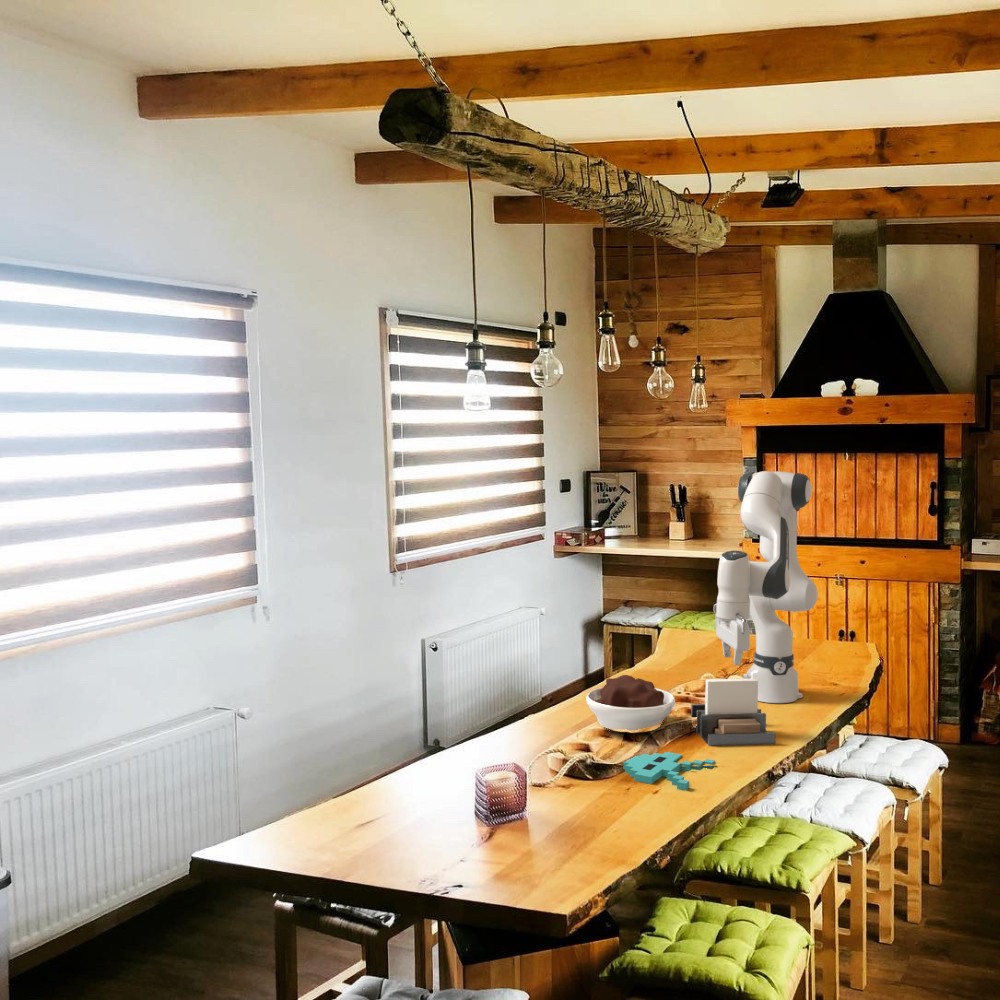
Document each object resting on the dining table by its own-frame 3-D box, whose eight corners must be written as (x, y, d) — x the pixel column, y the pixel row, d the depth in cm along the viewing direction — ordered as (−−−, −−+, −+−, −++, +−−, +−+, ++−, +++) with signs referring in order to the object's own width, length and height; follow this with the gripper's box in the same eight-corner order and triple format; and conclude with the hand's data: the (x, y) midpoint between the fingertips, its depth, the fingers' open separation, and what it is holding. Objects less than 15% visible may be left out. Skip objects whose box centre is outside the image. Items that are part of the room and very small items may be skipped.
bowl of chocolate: (691, 727, 314) (691, 675, 313) (644, 748, 295) (645, 693, 294) (617, 711, 330) (617, 662, 329) (568, 731, 311) (568, 678, 309)
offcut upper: (718, 728, 300) (718, 719, 300) (754, 727, 301) (754, 718, 301) (723, 734, 295) (723, 725, 295) (760, 733, 296) (760, 724, 296)
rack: (690, 729, 312) (691, 704, 312) (753, 727, 314) (753, 702, 313) (708, 750, 293) (709, 723, 293) (774, 748, 295) (775, 722, 294)
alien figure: (714, 768, 280) (642, 755, 290) (715, 760, 280) (642, 747, 290) (685, 792, 263) (609, 777, 273) (685, 783, 263) (609, 769, 273)
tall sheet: (704, 732, 305) (705, 679, 304) (754, 731, 306) (755, 678, 305) (707, 735, 302) (707, 681, 301) (756, 734, 304) (758, 680, 302)
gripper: (756, 617, 291) (754, 669, 292) (733, 604, 311) (732, 652, 313) (732, 617, 291) (731, 669, 292) (711, 604, 311) (710, 652, 312)
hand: (732, 660), depth 302 cm, fingers open, 8 cm apart
